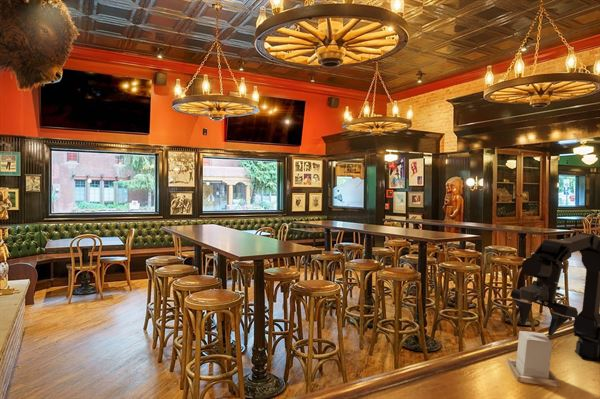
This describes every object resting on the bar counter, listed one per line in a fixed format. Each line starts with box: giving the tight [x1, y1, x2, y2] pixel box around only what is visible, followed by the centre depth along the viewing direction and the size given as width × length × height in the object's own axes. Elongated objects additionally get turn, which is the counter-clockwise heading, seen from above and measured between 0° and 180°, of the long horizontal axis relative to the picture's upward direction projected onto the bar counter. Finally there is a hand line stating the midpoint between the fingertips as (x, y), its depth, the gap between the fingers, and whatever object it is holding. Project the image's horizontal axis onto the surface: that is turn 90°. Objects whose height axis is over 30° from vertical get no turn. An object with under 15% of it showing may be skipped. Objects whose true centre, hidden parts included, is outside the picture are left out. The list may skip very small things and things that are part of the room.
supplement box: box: [515, 330, 553, 380], centre depth 129 cm, size 7×7×13 cm
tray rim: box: [505, 358, 561, 388], centre depth 129 cm, size 12×12×2 cm
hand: (535, 329), depth 127 cm, fingers open, 9 cm apart
